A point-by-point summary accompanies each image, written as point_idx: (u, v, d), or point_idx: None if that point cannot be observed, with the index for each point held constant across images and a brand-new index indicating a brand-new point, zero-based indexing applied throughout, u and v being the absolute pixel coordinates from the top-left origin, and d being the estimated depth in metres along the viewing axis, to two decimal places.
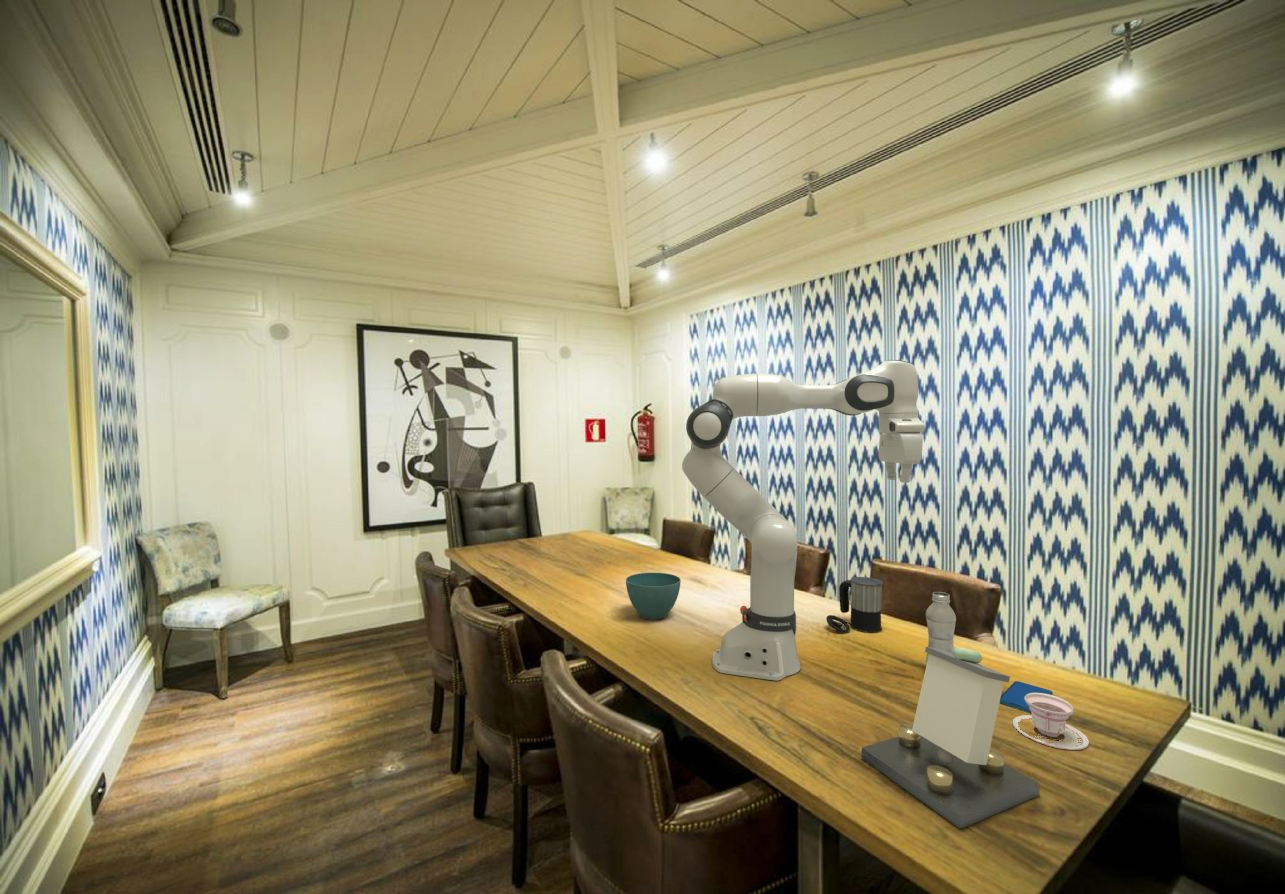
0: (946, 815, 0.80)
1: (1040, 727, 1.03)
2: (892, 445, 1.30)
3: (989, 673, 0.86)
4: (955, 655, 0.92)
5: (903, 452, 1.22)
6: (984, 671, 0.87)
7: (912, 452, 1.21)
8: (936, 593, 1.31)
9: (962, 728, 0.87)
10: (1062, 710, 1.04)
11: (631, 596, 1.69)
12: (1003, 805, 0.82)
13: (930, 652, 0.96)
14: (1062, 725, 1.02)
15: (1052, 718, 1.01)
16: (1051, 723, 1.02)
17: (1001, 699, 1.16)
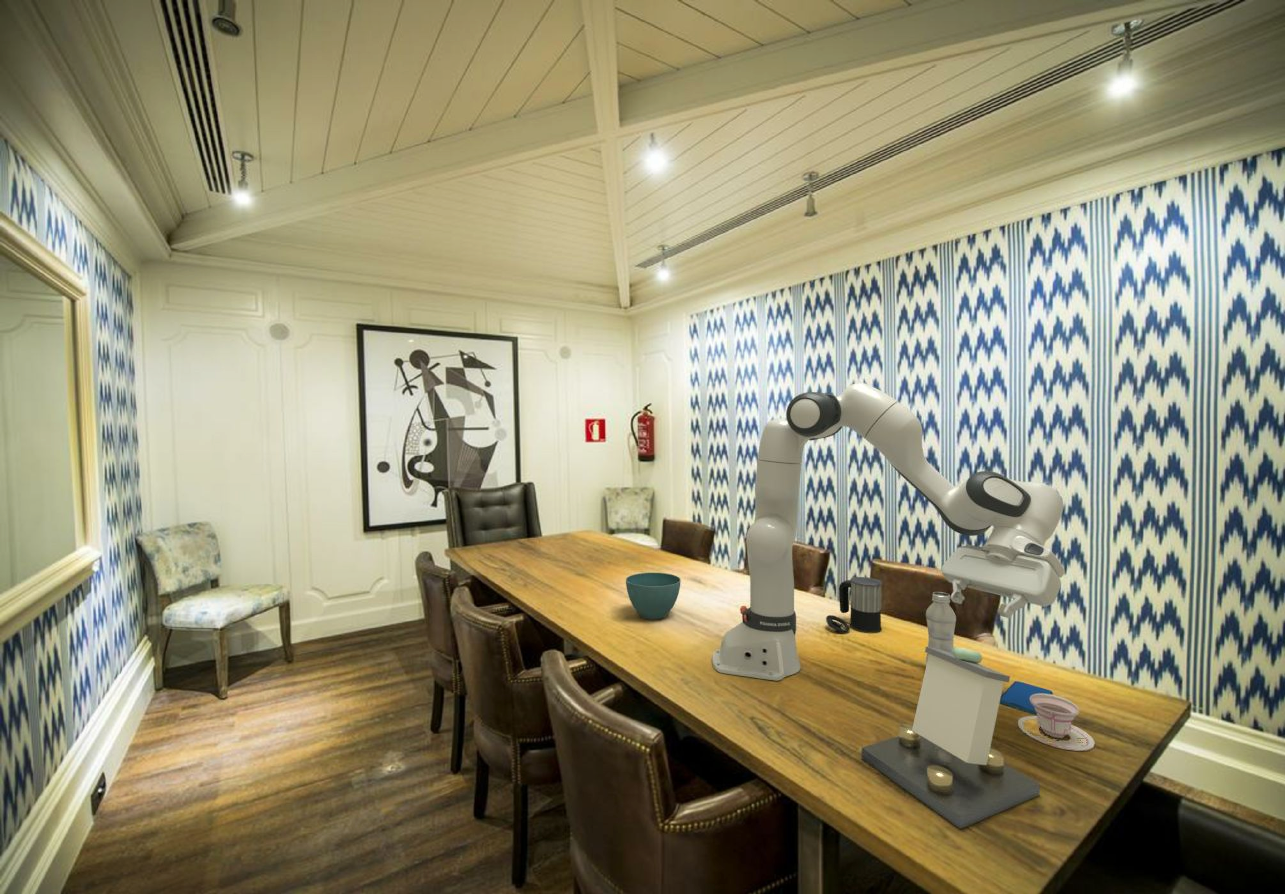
0: (946, 815, 0.80)
1: (1046, 728, 1.03)
2: (999, 567, 1.02)
3: (989, 673, 0.86)
4: (955, 655, 0.92)
5: (1045, 583, 0.93)
6: (984, 671, 0.87)
7: (1051, 590, 0.94)
8: (936, 593, 1.31)
9: (962, 728, 0.87)
10: (1067, 711, 1.04)
11: (631, 596, 1.69)
12: (1003, 805, 0.82)
13: (930, 652, 0.96)
14: (1067, 726, 1.01)
15: (1058, 719, 1.01)
16: (1057, 724, 1.02)
17: (1001, 699, 1.16)
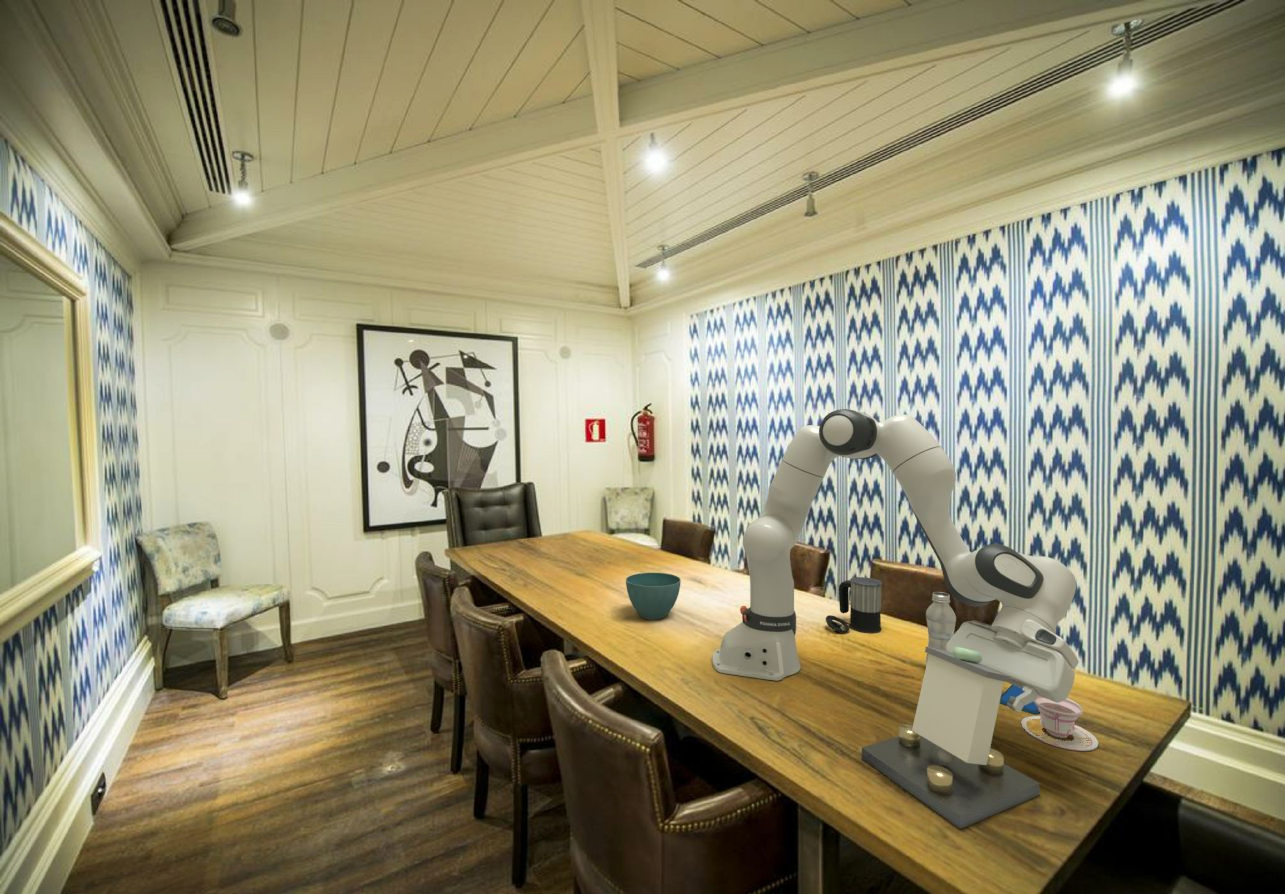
0: (946, 815, 0.80)
1: (1049, 728, 1.03)
2: (1007, 653, 0.96)
3: (989, 673, 0.86)
4: (955, 655, 0.92)
5: (1058, 678, 0.87)
6: (984, 671, 0.87)
7: (1065, 685, 0.87)
8: (936, 593, 1.31)
9: (962, 728, 0.87)
10: (1071, 711, 1.04)
11: (631, 596, 1.69)
12: (1003, 805, 0.82)
13: (930, 652, 0.96)
14: (1071, 726, 1.01)
15: (1061, 719, 1.01)
16: (1060, 724, 1.02)
17: (1001, 699, 1.16)
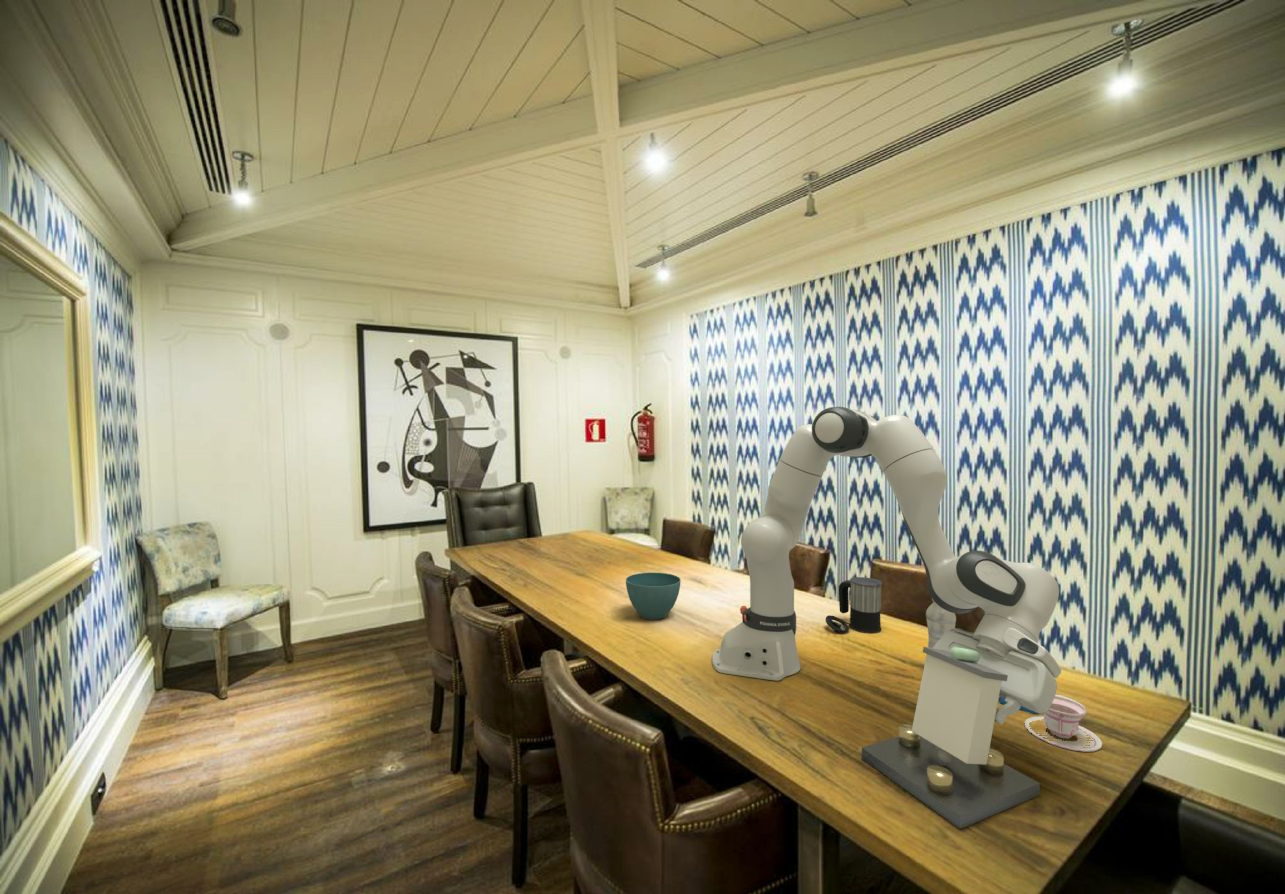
0: (946, 815, 0.80)
1: (1053, 729, 1.02)
2: (990, 662, 0.94)
3: (986, 673, 0.86)
4: (952, 655, 0.92)
5: (1040, 689, 0.85)
6: (981, 671, 0.86)
7: (1047, 696, 0.86)
8: None
9: (961, 728, 0.87)
10: (1075, 711, 1.04)
11: (631, 596, 1.69)
12: (1003, 805, 0.82)
13: (928, 652, 0.95)
14: (1075, 727, 1.01)
15: (1065, 720, 1.01)
16: (1064, 724, 1.01)
17: (1001, 699, 1.16)
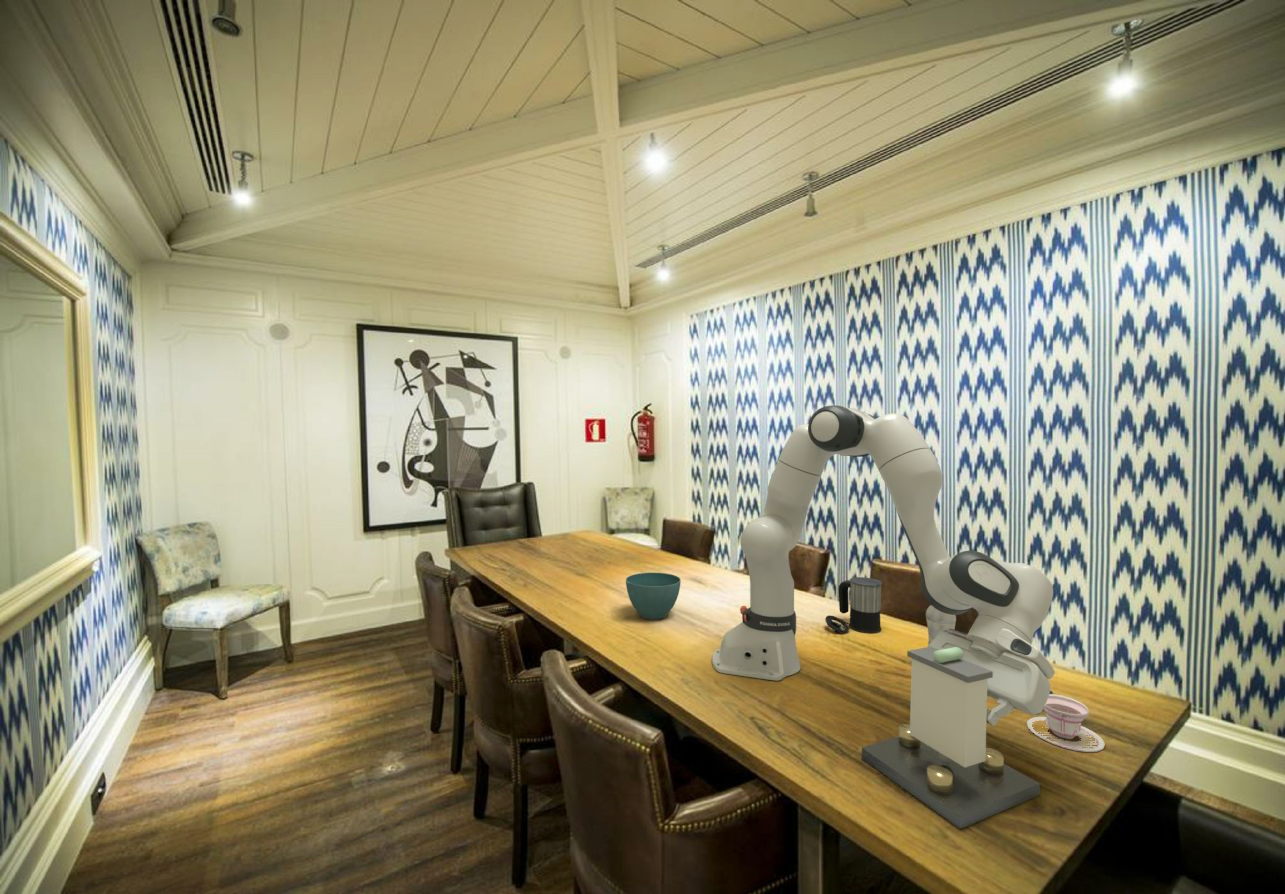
0: (946, 815, 0.80)
1: (1055, 729, 1.02)
2: (983, 663, 0.93)
3: (970, 678, 0.84)
4: (936, 659, 0.90)
5: (1032, 690, 0.84)
6: (965, 676, 0.85)
7: (1040, 697, 0.85)
8: None
9: (954, 733, 0.87)
10: (1077, 712, 1.04)
11: (631, 596, 1.69)
12: (1003, 805, 0.82)
13: (912, 657, 0.94)
14: (1077, 727, 1.01)
15: (1067, 720, 1.01)
16: (1066, 725, 1.01)
17: None
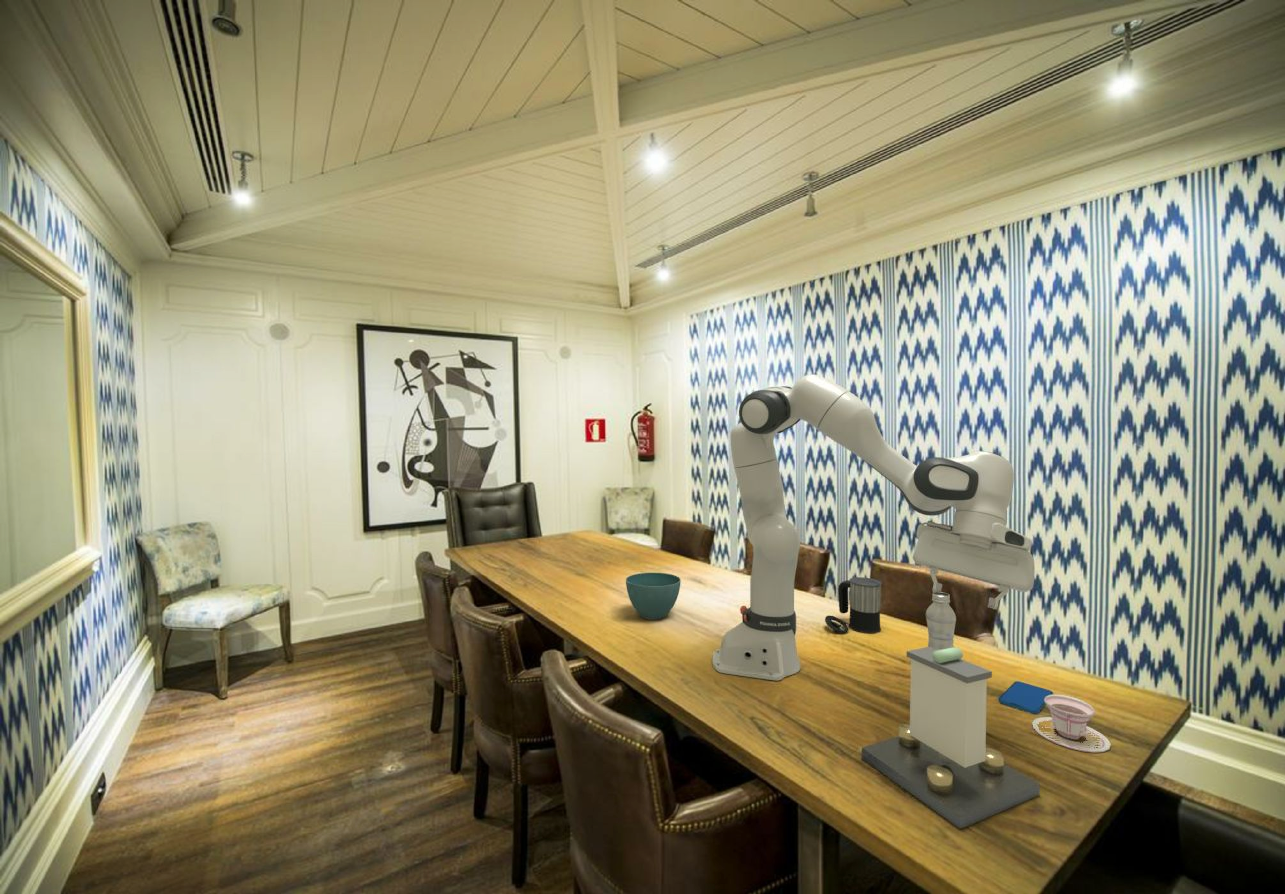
0: (946, 815, 0.80)
1: (1061, 729, 1.02)
2: (977, 555, 1.02)
3: (969, 678, 0.84)
4: (935, 659, 0.90)
5: (1032, 576, 0.97)
6: (964, 677, 0.85)
7: None
8: (936, 593, 1.31)
9: (954, 733, 0.87)
10: (1082, 712, 1.04)
11: (631, 596, 1.69)
12: (1003, 805, 0.82)
13: (911, 657, 0.94)
14: (1083, 727, 1.01)
15: (1073, 720, 1.01)
16: (1072, 725, 1.01)
17: (1001, 699, 1.16)
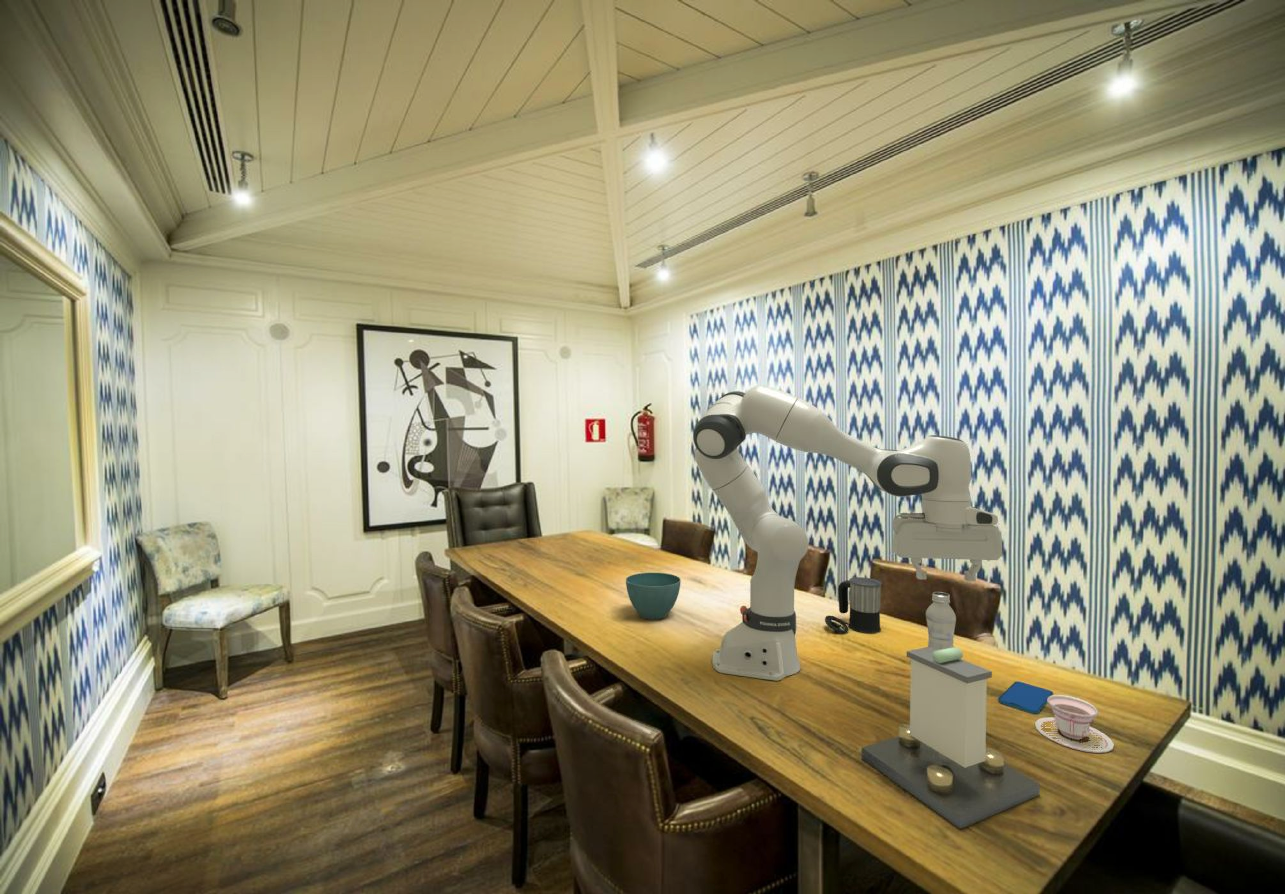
0: (946, 815, 0.80)
1: (1064, 730, 1.02)
2: (952, 538, 1.07)
3: (969, 678, 0.84)
4: (935, 659, 0.90)
5: (1001, 547, 1.06)
6: (964, 677, 0.85)
7: None
8: (936, 593, 1.31)
9: (954, 733, 0.87)
10: (1085, 712, 1.03)
11: (631, 596, 1.69)
12: (1003, 805, 0.82)
13: (911, 657, 0.94)
14: (1086, 728, 1.01)
15: (1076, 721, 1.00)
16: (1075, 725, 1.01)
17: (1001, 699, 1.16)
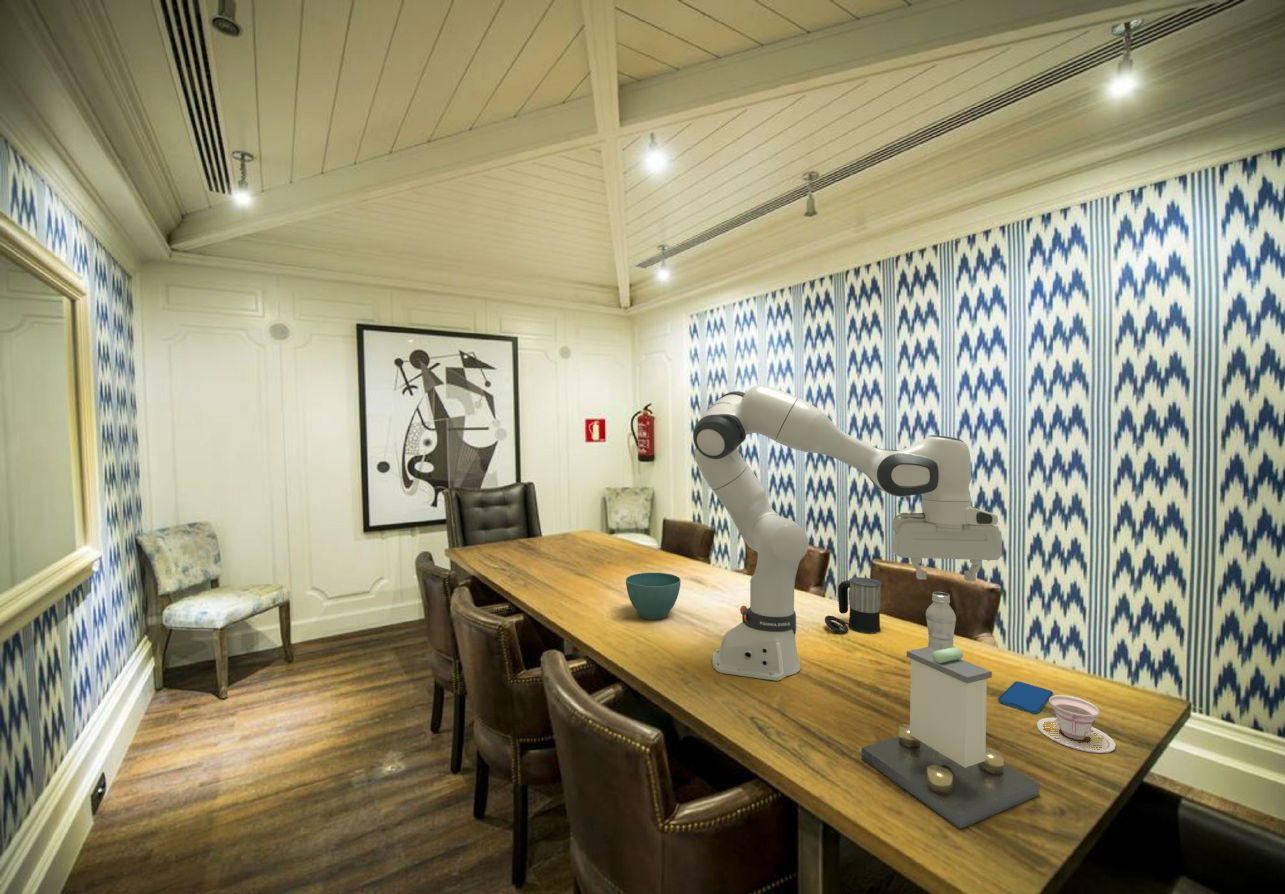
0: (946, 815, 0.80)
1: (1066, 730, 1.02)
2: (952, 538, 1.07)
3: (969, 678, 0.84)
4: (935, 659, 0.90)
5: (1001, 547, 1.06)
6: (964, 677, 0.85)
7: None
8: (936, 593, 1.31)
9: (954, 733, 0.87)
10: (1087, 712, 1.03)
11: (631, 596, 1.69)
12: (1003, 805, 0.82)
13: (911, 657, 0.94)
14: (1088, 728, 1.01)
15: (1078, 721, 1.00)
16: (1077, 726, 1.01)
17: (1001, 699, 1.16)
